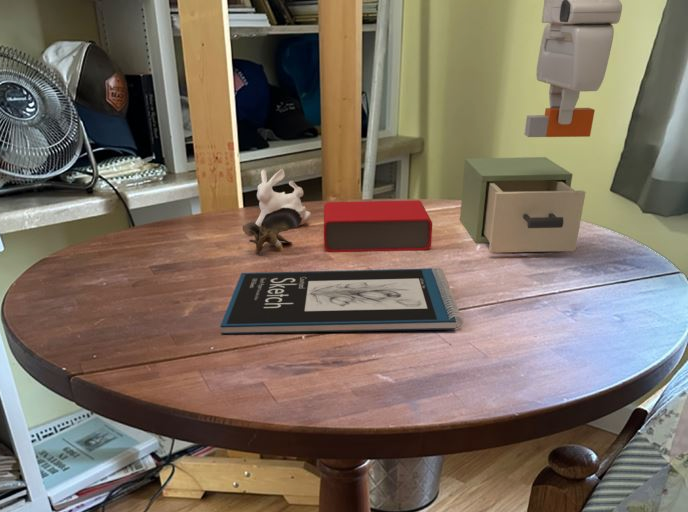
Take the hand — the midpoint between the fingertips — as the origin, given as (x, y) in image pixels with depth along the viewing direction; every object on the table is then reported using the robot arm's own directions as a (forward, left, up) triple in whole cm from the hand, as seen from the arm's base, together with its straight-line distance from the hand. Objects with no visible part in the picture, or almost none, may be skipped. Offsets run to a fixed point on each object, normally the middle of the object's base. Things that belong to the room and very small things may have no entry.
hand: (559, 122), depth 102 cm
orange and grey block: (0, 0, -2) cm, 2 cm away
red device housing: (+26, -12, -20) cm, 35 cm away
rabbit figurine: (+43, -24, -20) cm, 53 cm away
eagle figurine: (+43, -7, -20) cm, 48 cm away
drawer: (+1, -5, -19) cm, 19 cm away
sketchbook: (+32, +21, -20) cm, 43 cm away
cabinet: (+1, -17, -20) cm, 26 cm away
